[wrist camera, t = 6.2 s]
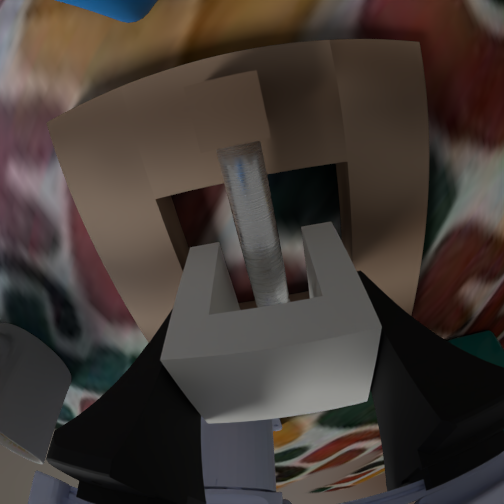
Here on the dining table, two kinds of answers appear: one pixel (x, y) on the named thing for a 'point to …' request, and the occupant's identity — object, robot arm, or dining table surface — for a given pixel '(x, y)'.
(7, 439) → the coffee mug
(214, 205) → the dining table surface
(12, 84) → the dining table surface
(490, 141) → the dining table surface
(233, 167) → the hook bar
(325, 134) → the shelf
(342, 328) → the grey u-slotted block
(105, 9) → the alarm clock
